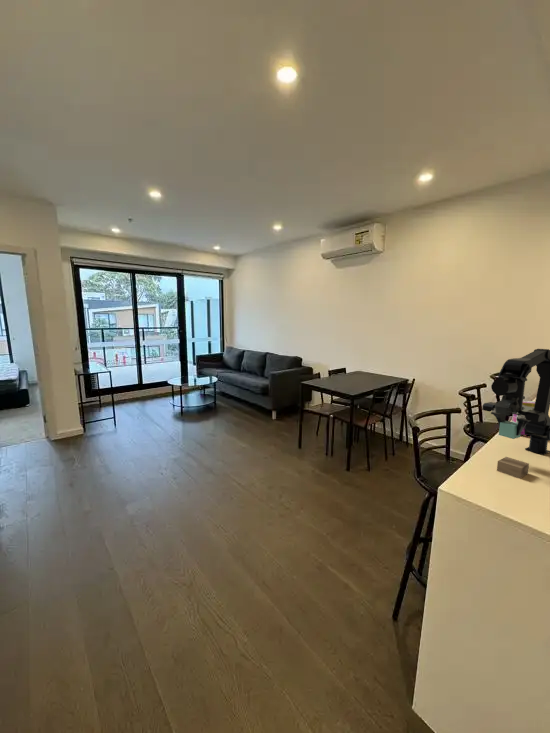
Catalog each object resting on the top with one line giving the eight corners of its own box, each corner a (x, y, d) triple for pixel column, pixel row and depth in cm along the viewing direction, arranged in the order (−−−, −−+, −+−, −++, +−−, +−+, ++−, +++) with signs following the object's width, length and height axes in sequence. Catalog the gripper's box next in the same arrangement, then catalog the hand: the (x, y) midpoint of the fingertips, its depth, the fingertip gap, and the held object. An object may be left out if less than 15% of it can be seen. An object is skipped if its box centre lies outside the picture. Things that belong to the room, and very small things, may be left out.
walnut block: (505, 466, 118) (506, 456, 118) (527, 474, 113) (529, 463, 112) (496, 471, 115) (497, 460, 114) (519, 479, 109) (521, 468, 108)
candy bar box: (515, 435, 153) (519, 402, 151) (510, 432, 158) (513, 399, 156) (542, 437, 151) (546, 403, 148) (535, 434, 155) (539, 401, 153)
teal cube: (505, 433, 125) (506, 420, 124) (520, 437, 121) (521, 424, 120) (498, 435, 122) (499, 422, 122) (513, 439, 118) (514, 425, 118)
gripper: (476, 390, 124) (472, 429, 126) (533, 400, 107) (527, 444, 109) (491, 388, 129) (488, 425, 131) (548, 397, 113) (543, 439, 115)
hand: (509, 433), depth 121 cm, fingers closed on teal cube, 5 cm apart
